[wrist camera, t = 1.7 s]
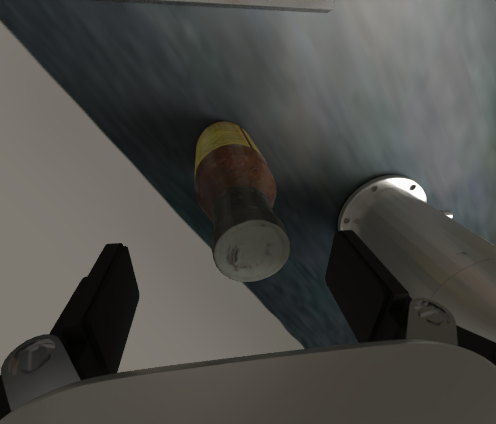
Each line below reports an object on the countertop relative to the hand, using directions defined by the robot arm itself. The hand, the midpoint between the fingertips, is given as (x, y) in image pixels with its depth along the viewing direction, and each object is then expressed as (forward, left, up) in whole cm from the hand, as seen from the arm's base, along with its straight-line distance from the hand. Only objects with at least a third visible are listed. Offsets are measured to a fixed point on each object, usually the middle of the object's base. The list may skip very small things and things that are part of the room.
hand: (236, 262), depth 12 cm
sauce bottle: (0, 0, -21) cm, 21 cm away
